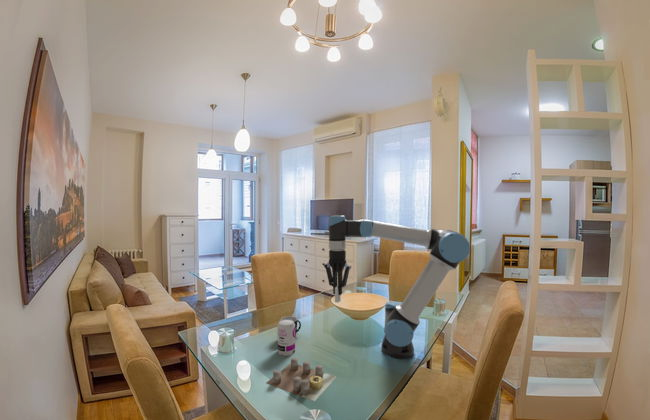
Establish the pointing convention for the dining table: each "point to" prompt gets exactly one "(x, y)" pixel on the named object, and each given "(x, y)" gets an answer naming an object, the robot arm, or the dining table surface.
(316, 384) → the brass nut
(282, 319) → the mug
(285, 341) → the supplement can
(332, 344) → the dining table surface
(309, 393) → the board
